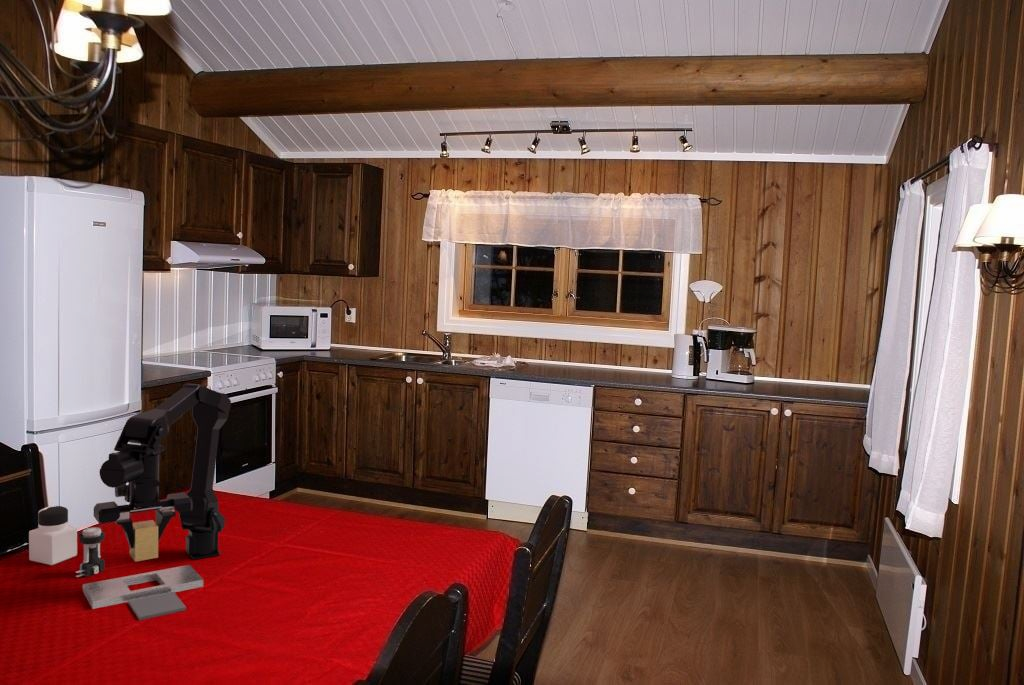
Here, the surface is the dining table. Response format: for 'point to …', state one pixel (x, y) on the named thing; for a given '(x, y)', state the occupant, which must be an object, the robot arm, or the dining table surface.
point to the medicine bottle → (52, 537)
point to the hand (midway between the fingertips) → (143, 545)
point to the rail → (120, 593)
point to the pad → (156, 605)
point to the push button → (91, 551)
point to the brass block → (145, 540)
